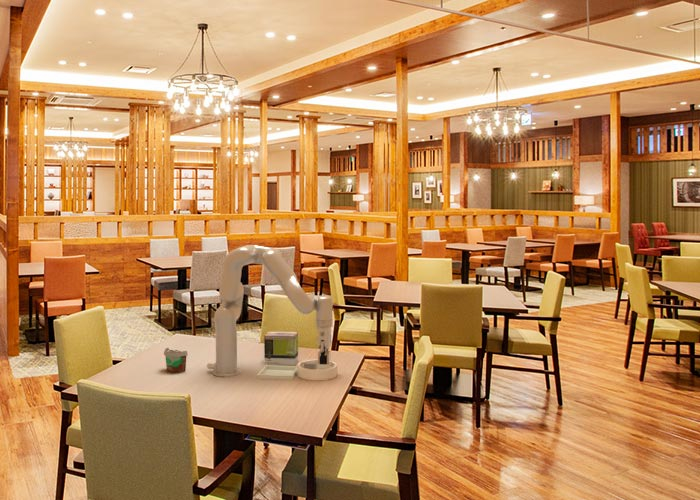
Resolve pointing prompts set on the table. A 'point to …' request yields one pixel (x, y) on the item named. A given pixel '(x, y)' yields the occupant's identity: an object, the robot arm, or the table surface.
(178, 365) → the food container
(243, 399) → the table surface
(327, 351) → the sandstone cube
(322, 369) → the bowl
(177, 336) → the table surface
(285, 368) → the tray
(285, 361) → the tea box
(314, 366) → the slate cube
